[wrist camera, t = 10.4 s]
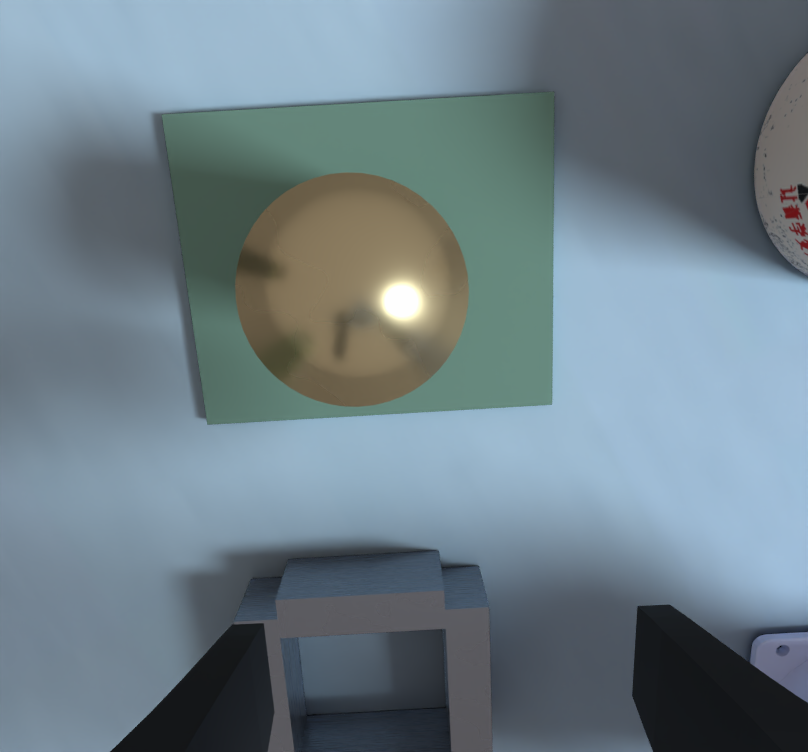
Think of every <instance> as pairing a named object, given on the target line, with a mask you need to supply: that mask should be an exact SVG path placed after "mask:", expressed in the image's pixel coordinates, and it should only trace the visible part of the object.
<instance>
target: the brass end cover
mask: <svg viewBox="0 0 808 752" xmlns="http://www.w3.org/2000/svg"><path fill="white" fill-rule="evenodd" d="M235 293H236V304H237V310H238V315H239V319H240V322H241V325H242V328H243V331H244V333H245V335H246V337H247V340H248V342H249V344H250V346H251V347H252V349H253V350H254V352H255V354H256V355H257V357H258V358H259V359H260V360H261V362H262V363H263V364H264V365H265V367H266V368H267V369H268V370H269V371H270V372H271V373H272V374H273V375H274V376H275V377H276V378H277V379H279V380H280V381H281V382H283V383H284V384H285V385H287V386H288V387H290V388H291V389H293V390H295V391H297V392H298V393H300V394H302V395H304V396H306V397H309V398H311V399H314V400H316V401H320V402H323V403H327V404H331V405H338V406H345V407H362V406H371V405H377V404H381V403H385V402H389V401H392V400H394V399H397V398H400V397H402V396H404V395H406V394H408V393H410V392H412V391H413V390H415V389H416V388H418V387H419V386H421V385H422V384H424V383H425V382H426V381H427V380H429V379H430V378H431V377H432V376H433V375H434V374H435V373H436V372H437V371H438V370H439V369H440V368H441V366H442V365H443V364H444V363H445V362H446V360H447V359H448V357H449V356H450V354H451V353H452V351H453V350H454V348H455V346H456V344H457V342H458V339H459V337H460V335H461V332H462V329H463V326H464V323H465V320H466V314H467V309H468V298H469V285H468V274H467V269H466V265H465V260H464V257H463V254H462V251H461V249H460V246H459V244H458V242H457V240H456V238H455V236H454V234H453V232H452V230H451V229H450V227H449V226H448V224H447V223H446V221H445V220H444V218H443V217H442V216H441V215H440V214H439V213H438V212H437V211H436V209H435V208H434V207H433V206H432V205H431V204H429V203H428V202H427V201H426V200H425V199H424V198H422V197H421V196H420V195H418V194H417V193H415V192H414V191H412V190H411V189H409V188H407V187H406V186H403V185H401V184H399V183H397V182H395V181H393V180H390V179H386V178H383V177H380V176H377V175H371V174H365V173H348V172H344V173H335V174H328V175H324V176H320V177H316V178H313V179H310V180H308V181H305V182H303V183H300V184H298V185H297V186H295V187H293V188H291V189H290V190H288V191H286V192H285V193H283V194H282V195H281V196H280V197H278V198H277V199H276V200H275V201H273V202H272V203H271V204H270V205H269V206H268V207H267V208H266V209H265V210H264V212H263V213H262V214H261V215H260V217H259V218H258V219H257V221H256V222H255V223H254V225H253V226H252V228H251V230H250V232H249V234H248V236H247V237H246V239H245V242H244V245H243V247H242V250H241V253H240V256H239V261H238V265H237V270H236V281H235Z"/></svg>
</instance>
